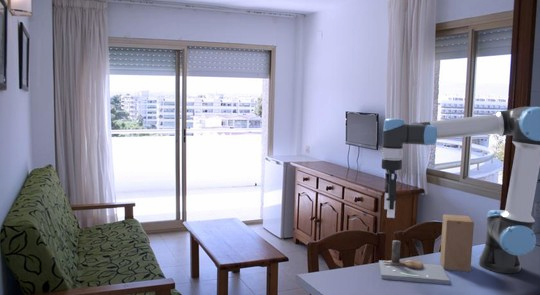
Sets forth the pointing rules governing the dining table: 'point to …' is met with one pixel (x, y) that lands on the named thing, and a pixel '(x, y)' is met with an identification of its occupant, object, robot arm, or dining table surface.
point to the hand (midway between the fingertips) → (389, 213)
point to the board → (414, 273)
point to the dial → (396, 257)
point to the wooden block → (456, 242)
